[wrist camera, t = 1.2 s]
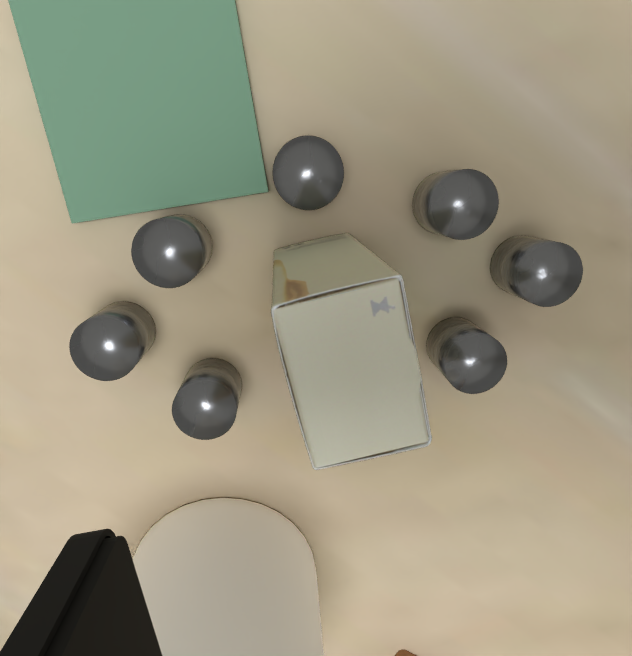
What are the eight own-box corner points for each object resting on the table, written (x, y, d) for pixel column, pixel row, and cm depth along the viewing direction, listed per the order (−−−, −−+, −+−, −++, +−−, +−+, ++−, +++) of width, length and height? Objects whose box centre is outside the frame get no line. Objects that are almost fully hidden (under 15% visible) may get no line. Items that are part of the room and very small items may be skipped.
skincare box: (271, 249, 27) (262, 295, 15) (350, 230, 27) (403, 262, 15) (298, 359, 29) (310, 478, 17) (373, 342, 29) (436, 448, 17)
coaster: (229, -29, 23) (228, -35, 23) (268, 191, 26) (268, 191, 25) (14, 3, 23) (7, -2, 22) (76, 222, 26) (71, 223, 25)
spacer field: (542, 104, 26) (581, 91, 22) (550, 392, 30) (584, 418, 27) (52, 182, 25) (17, 181, 22) (134, 464, 30) (115, 499, 26)
